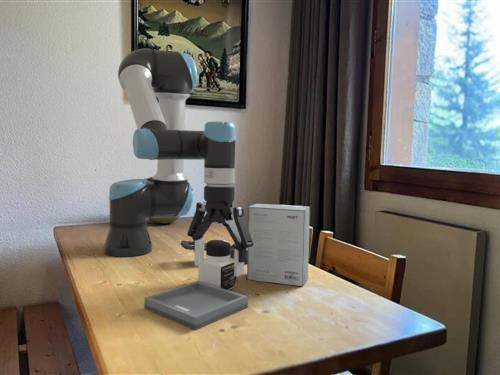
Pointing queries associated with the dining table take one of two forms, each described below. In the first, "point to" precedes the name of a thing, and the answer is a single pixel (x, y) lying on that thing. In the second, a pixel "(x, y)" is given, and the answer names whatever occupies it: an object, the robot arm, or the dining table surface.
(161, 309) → the tray
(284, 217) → the hard drive box
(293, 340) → the dining table surface
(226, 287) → the medicine bottle
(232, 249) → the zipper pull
